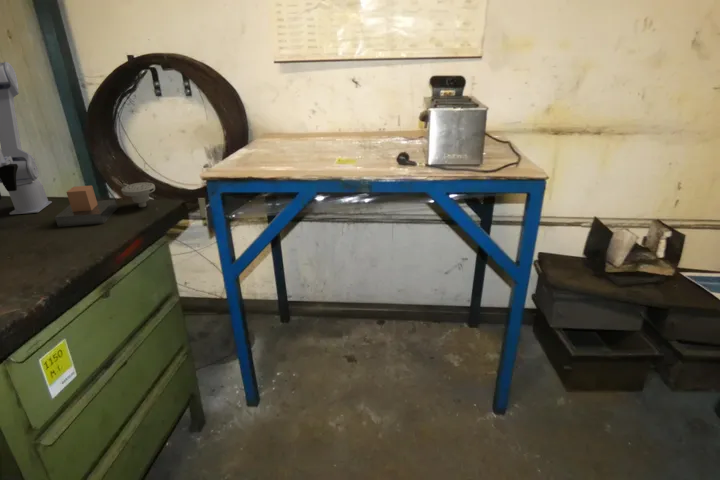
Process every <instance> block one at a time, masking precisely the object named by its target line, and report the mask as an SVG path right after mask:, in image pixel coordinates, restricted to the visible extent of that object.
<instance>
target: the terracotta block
mask: <svg viewBox="0 0 720 480" xmlns="http://www.w3.org/2000/svg"><path fill="white" fill-rule="evenodd" d="M66 195H67V196H66V197H67V199H68V201H69V205H71V208H72V211H73V212H77V211H90V210H92V209H93V208H95V207H96V206H97V205H98V204H97V201H98V200H97V198H96V194H95V191H94V187H93V185H80V186H73V187H71V188H70V189H68V190H67V191H66Z"/></svg>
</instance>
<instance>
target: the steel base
mask: <svg viewBox="0 0 720 480" xmlns="http://www.w3.org/2000/svg"><path fill="white" fill-rule="evenodd" d="M97 204H98V205H97V206H96V207H95V208H93V209H92V210H90V211H77V212H73V211H72V208H71V205H70V204H69V205H68V206H67V207H65V208H64V209H62V211H61V212H59V213H58V214H57V215H55V216H54V219H55V222H56V224H57V227H58V228H60V227H61V228H62V227H74V226H75V227H77V226H87V225H99V224H100V225H101V224H105V223H106V222H107V221H108V219H109V218H110V217H111V216H113V214H114V213H115V211H117V210H118V205H117V202H116V199H105V200H97Z"/></svg>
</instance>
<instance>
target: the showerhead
mask: <svg viewBox="0 0 720 480" xmlns="http://www.w3.org/2000/svg"><path fill="white" fill-rule="evenodd" d="M122 186H123V187H122V188H121V190H120V191H121V194H122V195H123V196H127V197H131V200H132V202H134V203H136V204H137V205H138V207H139V208H144V207H146V206H147V202H148V201H149V200H150V195H149V194H151V193H153V192H155V190H156V186H155V184H154V183H151V182H148V181H147V182H142V181H141V182H136V183H135V182H134V183H132V184H131V183H130V184H126V183H124V182H123V184H122Z"/></svg>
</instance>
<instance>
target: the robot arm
mask: <svg viewBox="0 0 720 480" xmlns="http://www.w3.org/2000/svg"><path fill="white" fill-rule="evenodd" d="M17 76H18V75H17V73H16V71H15V69H14V66H12V64H10V62H8V61H4V62H0V184H2V186H4V188H5V190H6V191H7V193H8V194H9V197H10V200H11V202H12V204H13V207H14V209H13V210H12V211H9V215H21V214H23V215H24V214H37V213H39V212H41V211H42V210H43V209H45V208H47V206H49V205H50V204H52V203H53V201H51V200H49V199H48V196H47V193H46V191H45V188H44V185H43V183H42V182H41V181H40V180H39V179H38V178H39V168H38V165H37V164H36V163H37V162H36V159H35V158H34V157H33V155H32V154H31V153H29V152H27V151H25V150H23V149H22V143H21V136H20V131H19V126H18V119H17V114H16V108H15V97H16V96H18V95H19V93H20V91H19V90H20V89H19V82H18V77H17ZM1 200H2V194H1V192H0V201H1Z"/></svg>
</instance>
